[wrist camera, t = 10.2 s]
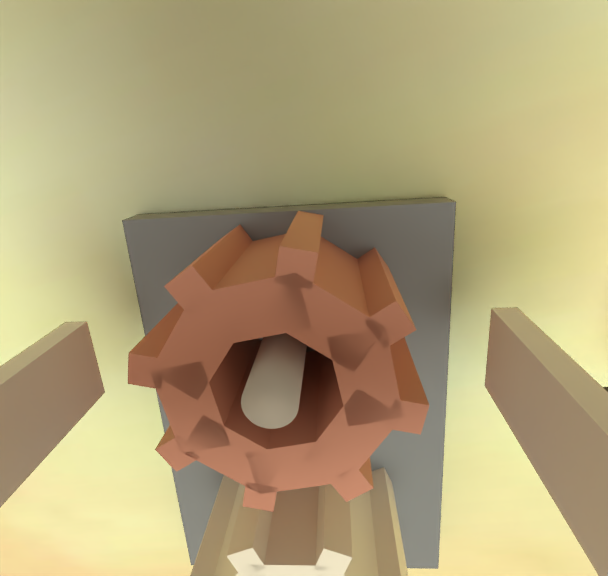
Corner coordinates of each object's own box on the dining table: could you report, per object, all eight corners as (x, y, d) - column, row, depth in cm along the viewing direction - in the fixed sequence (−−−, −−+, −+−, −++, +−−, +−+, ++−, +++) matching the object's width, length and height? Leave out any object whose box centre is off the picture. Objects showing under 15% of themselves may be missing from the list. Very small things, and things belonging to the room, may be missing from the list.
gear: (169, 240, 17) (88, 288, 11) (374, 192, 16) (397, 219, 10) (228, 413, 20) (185, 523, 14) (409, 383, 18) (443, 488, 13)
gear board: (138, 214, 18) (2, 263, 11) (445, 197, 17) (532, 238, 10) (199, 540, 24) (138, 719, 17) (431, 542, 23) (479, 735, 16)
